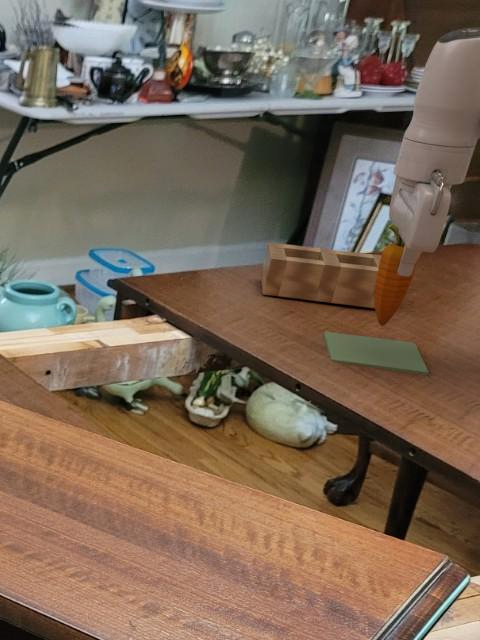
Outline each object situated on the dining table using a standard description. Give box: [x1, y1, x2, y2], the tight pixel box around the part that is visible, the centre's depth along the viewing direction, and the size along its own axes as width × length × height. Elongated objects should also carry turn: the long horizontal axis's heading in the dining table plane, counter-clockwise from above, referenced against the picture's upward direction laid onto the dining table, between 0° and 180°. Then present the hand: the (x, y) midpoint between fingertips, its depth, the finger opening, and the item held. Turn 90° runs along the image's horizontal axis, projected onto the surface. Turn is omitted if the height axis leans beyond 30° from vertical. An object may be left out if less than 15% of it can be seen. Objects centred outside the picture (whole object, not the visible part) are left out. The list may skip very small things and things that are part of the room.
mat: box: [322, 330, 430, 376], centre depth 160 cm, size 13×13×1 cm
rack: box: [260, 242, 382, 309], centre depth 185 cm, size 20×11×6 cm, turn 75°
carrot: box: [374, 223, 419, 327], centre depth 153 cm, size 5×5×15 cm
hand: (399, 268), depth 153 cm, fingers closed on carrot, 5 cm apart
